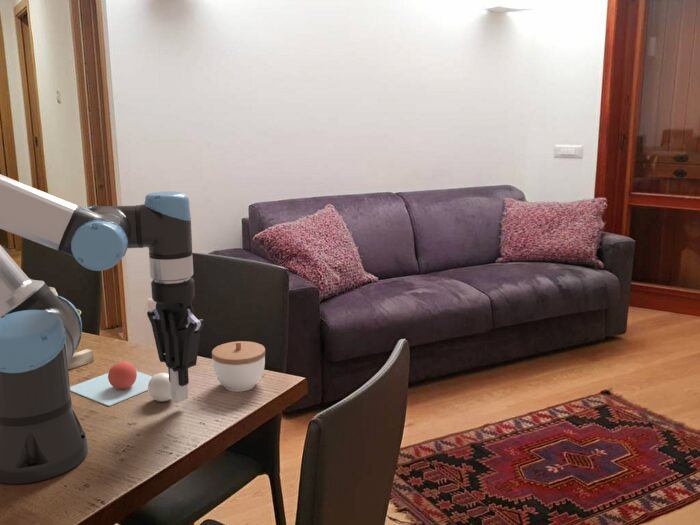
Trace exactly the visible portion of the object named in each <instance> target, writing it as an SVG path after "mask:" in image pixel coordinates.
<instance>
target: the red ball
mask: <svg viewBox="0 0 700 525" xmlns="http://www.w3.org/2000/svg"><path fill="white" fill-rule="evenodd" d="M136 371H137V370H136V368H135V366H134V365H133V364H132V363H130V362H127V361H119V362H117V363H114V364H113V365H112V366H111V367H110V369H109V370H108V372H107V373H108V380H109V382H110V384H111V385H112V386H113V387H114V388H117V389H127V388H129V387H131V386H132V385H133V384H134V382H135V380H136V377H137V372H136Z"/></svg>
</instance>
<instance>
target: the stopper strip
mask: <svg viewBox="0 0 700 525" xmlns="http://www.w3.org/2000/svg"><path fill="white" fill-rule="evenodd" d="M93 362H95V361H94V350H92V349H89V348H86V349H83V350H79V351H77V352H74V354H73V357H72V359H71V361H70V364H69V367H68V370H72V369H74V368H78V367H80V366H84V365H86V364H89V363H93Z"/></svg>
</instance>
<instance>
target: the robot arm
mask: <svg viewBox="0 0 700 525" xmlns="http://www.w3.org/2000/svg"><path fill="white" fill-rule="evenodd" d="M144 199H145V201H144V204H140V205H139V204H136V205H112V206H111V205H107V206H105V205H104V206H103V205H102V206H101V205H99V206H98V205H92V206H83V207H82V206H79V205H78V204H75V203H72V202H70V201H68V200H65V199H63V198H60V197H57V196H55V195H53V194H50V193H48V192H45V191H43V190H41V189H38V188H35V187H33V186H30V185H28V184H26V183H23V182H21V181H18V180H15V179H13V178H11V177H8V176H5V175H4V174H0V230H3V231H5V232H8V233H10V234H13V235H17V236H18V237H21V238H23V239H26V240H29V241H32V242H34V243H37V244H39V245H43V246H45V247H47V248H51V249H53V250H55V251H58V252H61V253H63V254H65V255H68V256H71V257H73V258H74V259H75V260H76V262H77V263H78V264H80V265H81V266H82V267H83V268H85V269H87V270H90V271H96V272H102V271H107V270H109V269H112V268H114V267H115V266H116V265H117V264H118V263H119V262H120V261H121V260H122V258H123V257H125V255H126V253H127V251H128V249H144V248H148V250H149V251H148V255H149V257H148V259H149V276H150V278H151V280H152V281H151V282H150V285H151V286H150V288H151V299H152V301H153V302H154V303H155V308H154V309H152V310H148V311H147V312H146V315H147V317H148V320H149V322H150V325H151V328H152V333H153V336H154V337H153V338H154V342H155V346H156V351H157V355H158V360H159V361H160V362H161V363H165V366H166V367H167V368H168V372H167V373H168V374H169V381H170V382H171V397H172V398H171V402H172V403H176V404H179V403H181V402H184V401H186V400H188V399H189V390H188V388H189V387H188V386H189V385H188V384H189V381H190V378H189V369H190V368H191V367H194V366H196V365H197V361H198V354H199V353H198V352H199V347H200V346H199V344H200V338H201V331H202V329H203V326H204V324H205V320H204V319H202V318H199V319H198V318H197V317H196V316H195V315H194V308H193V305H192V301H193V299H194V298H195V296H196V293H195V290H196V289H195V279H194V278H193V275H194V260H193V239H192V235H193V234H192V217H191V216H192V215H191V208H190V200H189V197H188V195H187V194H185V193H184V192H180V191H157V192H154V191H153V192H151V193H148V194H146V195H145V198H144ZM49 287H50V286H48V285H47V283H46V282H45V281H44V280H37V279H36V280H35V279H32V278H30V277H28V275H27V274H26V273H25V272H24V271H23V270H22V268H21V267H20V266H19V265H18V264H17V262H16V261H15V260H14V259H13V258H12V257H11V256H10V254H9V253H8V252H7V251H6V249H5V248H4V247H3V246H2V245H1V244H0V483H2V484H7V485H8V484H10V485H11V484H13V485H17V484H18V485H19V484H20V485H21V484H31V483H35V482H41V481H44V480H49V479H52V478H55V477H58V476H59V475H62V474H64V473H67V472H68V471H71V470H73V469H74V468H75V467H77V466H78V465H80V464H81V463H82V462H83V461H84V459H85V458H86V457H87V454H88V452H89V447H88V446H89V445H88V438H87V435H86V433H85V431H84V429H83V426H82V424H81V422H80V421H79V419H78V417H77V414H76V412H75V411H74V409H73V402H72V394H71V393H72V392H71V391H70V387H71V384H70V376H69V375H70V373H69V372H70V371H69V370H68V367H69V364H70V361H71V359H72V357H73V354H74V353H76V352H75V351H76V350H77V349H78V347H79V345H80V343H81V340H82V333H83V324H82V323H83V322H82V318H81V315H79V313H78V311H77V309H78V308H76V306H75V305H74V304H73V303H72V302H71V301H69V300H68V299H66V298H65V297H63V296H60V295H58V296H57V295H55V294H54V293H53V292H52V291H51V289H50V288H49Z"/></svg>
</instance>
